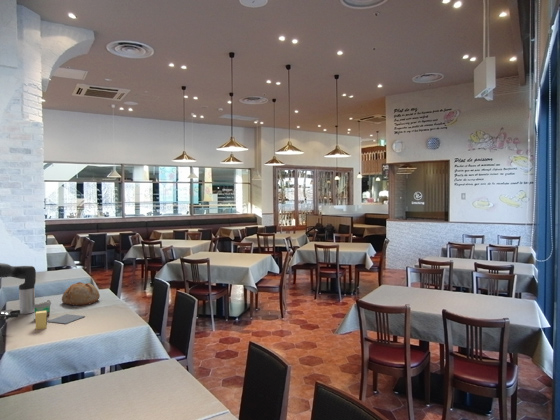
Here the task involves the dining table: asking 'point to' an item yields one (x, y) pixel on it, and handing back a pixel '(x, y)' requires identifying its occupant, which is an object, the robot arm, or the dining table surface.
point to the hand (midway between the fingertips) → (19, 313)
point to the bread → (80, 294)
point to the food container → (43, 307)
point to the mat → (66, 319)
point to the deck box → (41, 319)
